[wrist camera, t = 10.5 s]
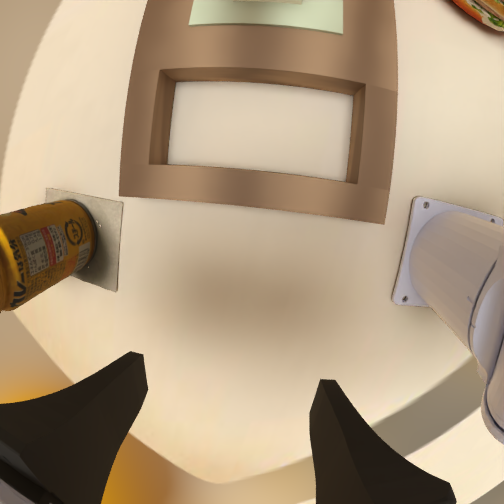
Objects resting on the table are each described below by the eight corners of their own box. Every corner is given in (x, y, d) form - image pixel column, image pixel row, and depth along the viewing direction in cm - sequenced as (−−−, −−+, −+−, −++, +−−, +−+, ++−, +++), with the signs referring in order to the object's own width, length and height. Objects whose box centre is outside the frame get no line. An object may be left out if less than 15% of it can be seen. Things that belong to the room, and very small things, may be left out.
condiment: (47, 187, 20) (-65, 214, 9) (124, 202, 20) (-4, 243, 8) (46, 265, 22) (-47, 319, 11) (118, 290, 22) (22, 375, 11)
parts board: (377, -23, 13) (388, -44, 10) (369, 216, 18) (386, 225, 15) (177, -35, 14) (164, -55, 11) (140, 191, 19) (116, 196, 16)
